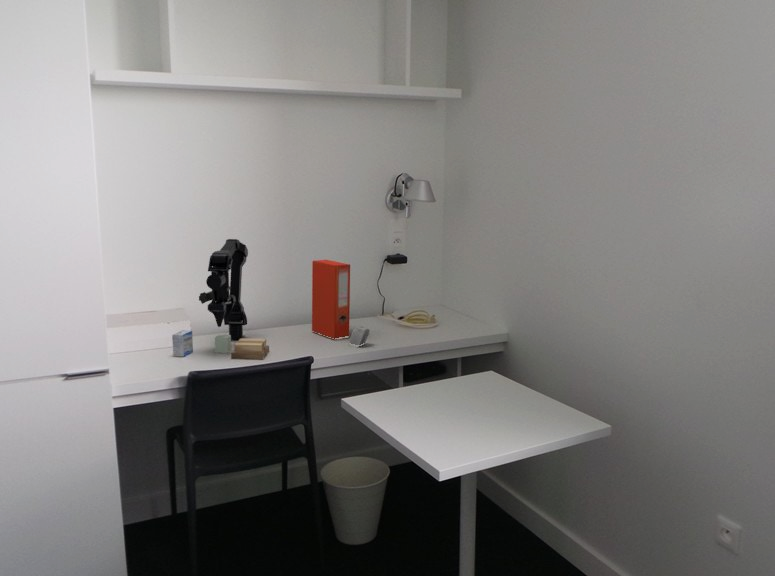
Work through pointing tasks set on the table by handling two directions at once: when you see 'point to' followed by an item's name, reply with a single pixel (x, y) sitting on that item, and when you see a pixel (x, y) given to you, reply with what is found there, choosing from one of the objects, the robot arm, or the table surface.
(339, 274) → the file binder
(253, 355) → the walnut slab
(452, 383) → the table surface
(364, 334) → the mineral specimen
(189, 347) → the medicine box
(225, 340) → the sage block
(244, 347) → the oak slab
